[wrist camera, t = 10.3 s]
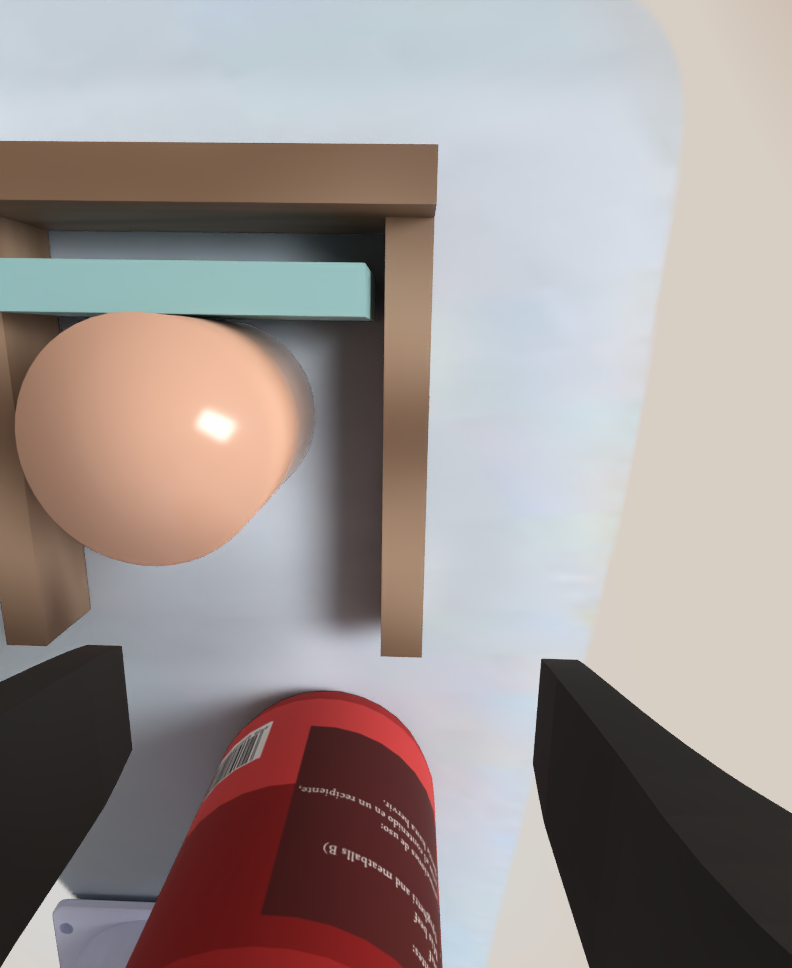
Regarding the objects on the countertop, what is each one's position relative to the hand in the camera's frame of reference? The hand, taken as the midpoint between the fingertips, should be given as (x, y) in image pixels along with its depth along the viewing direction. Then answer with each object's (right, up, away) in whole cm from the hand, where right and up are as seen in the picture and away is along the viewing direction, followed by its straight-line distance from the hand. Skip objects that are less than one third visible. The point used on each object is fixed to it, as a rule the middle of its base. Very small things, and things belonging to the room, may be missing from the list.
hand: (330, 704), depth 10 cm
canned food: (-1, -7, +12) cm, 14 cm away
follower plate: (-4, +9, +8) cm, 13 cm away
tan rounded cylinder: (-4, +6, +8) cm, 11 cm away
